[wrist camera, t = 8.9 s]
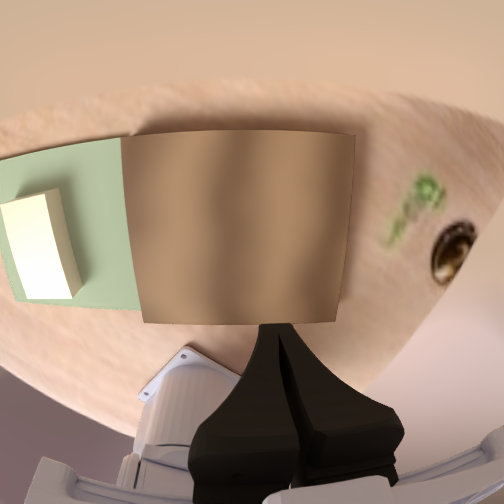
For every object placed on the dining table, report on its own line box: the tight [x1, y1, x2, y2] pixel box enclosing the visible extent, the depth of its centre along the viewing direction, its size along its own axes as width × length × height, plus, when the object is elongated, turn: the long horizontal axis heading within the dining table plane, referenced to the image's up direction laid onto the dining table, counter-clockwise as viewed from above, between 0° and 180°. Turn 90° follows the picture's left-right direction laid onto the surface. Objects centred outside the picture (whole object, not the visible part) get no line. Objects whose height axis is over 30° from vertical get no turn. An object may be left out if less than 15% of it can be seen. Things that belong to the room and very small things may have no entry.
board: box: [120, 130, 355, 325], centre depth 20 cm, size 14×13×2 cm
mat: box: [0, 138, 141, 311], centre depth 20 cm, size 14×13×1 cm
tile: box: [0, 188, 83, 299], centre depth 19 cm, size 5×8×2 cm, turn 4°
